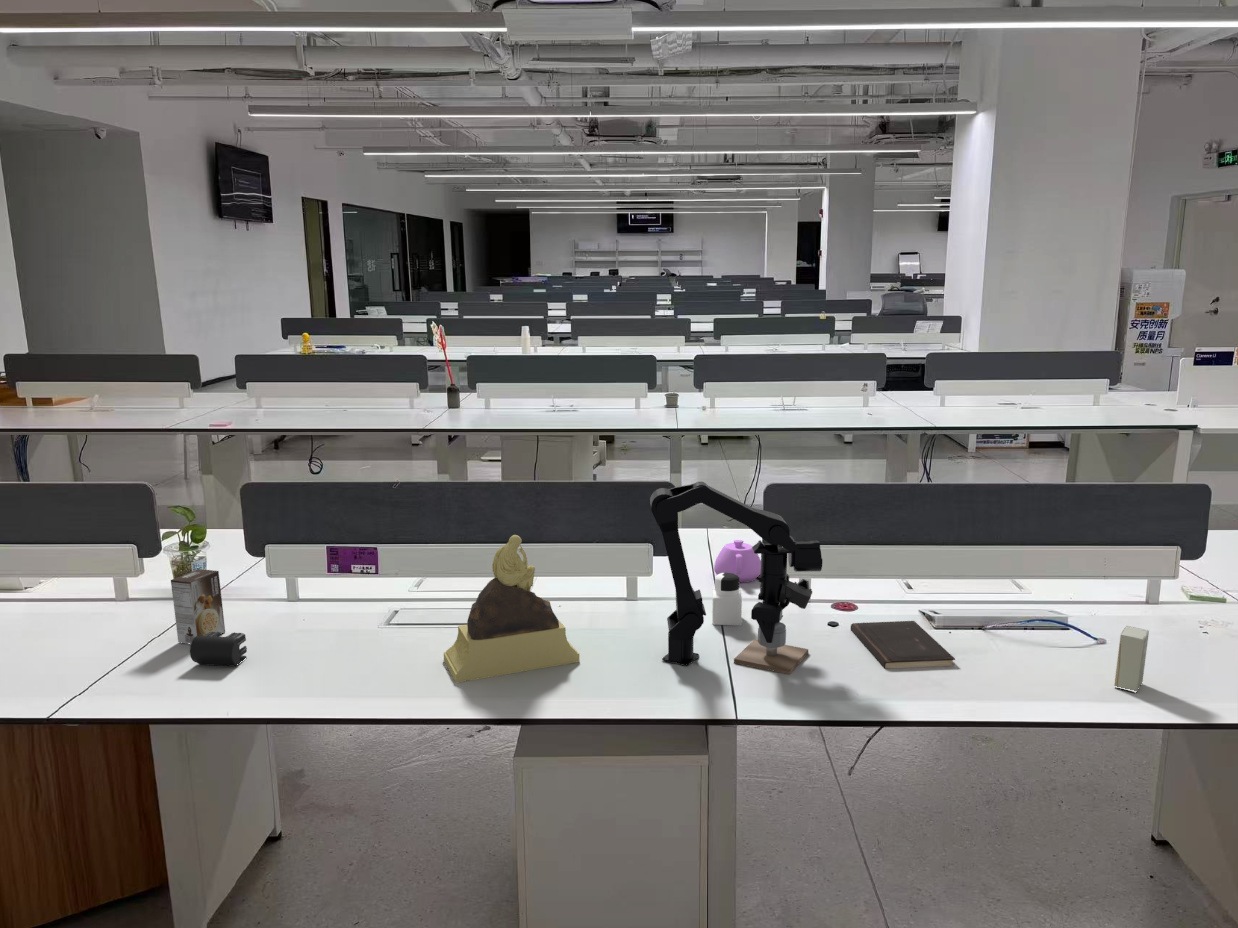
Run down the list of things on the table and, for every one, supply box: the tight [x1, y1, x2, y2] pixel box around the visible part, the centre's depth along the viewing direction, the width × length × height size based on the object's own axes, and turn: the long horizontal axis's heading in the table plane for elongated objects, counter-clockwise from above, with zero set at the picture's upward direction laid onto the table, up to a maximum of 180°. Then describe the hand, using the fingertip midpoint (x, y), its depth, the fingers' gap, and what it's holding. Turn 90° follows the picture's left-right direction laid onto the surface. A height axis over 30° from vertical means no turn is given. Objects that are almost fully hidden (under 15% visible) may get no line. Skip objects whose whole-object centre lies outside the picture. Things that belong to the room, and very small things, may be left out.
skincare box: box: [1113, 625, 1150, 691], centre depth 193 cm, size 6×4×12 cm
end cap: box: [189, 632, 248, 667], centre depth 209 cm, size 10×7×7 cm
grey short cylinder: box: [757, 621, 787, 648], centre depth 209 cm, size 6×6×4 cm
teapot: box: [713, 539, 761, 583], centre depth 267 cm, size 14×20×11 cm
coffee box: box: [170, 568, 226, 644], centre depth 223 cm, size 9×6×16 cm
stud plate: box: [733, 638, 809, 675], centre depth 209 cm, size 13×13×4 cm
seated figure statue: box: [443, 534, 580, 683], centre depth 207 cm, size 28×13×30 cm, turn 112°
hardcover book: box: [850, 620, 956, 670], centre depth 215 cm, size 16×23×2 cm
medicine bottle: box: [711, 573, 743, 627], centre depth 232 cm, size 7×7×12 cm
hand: (771, 637), depth 209 cm, fingers closed on grey short cylinder, 6 cm apart
